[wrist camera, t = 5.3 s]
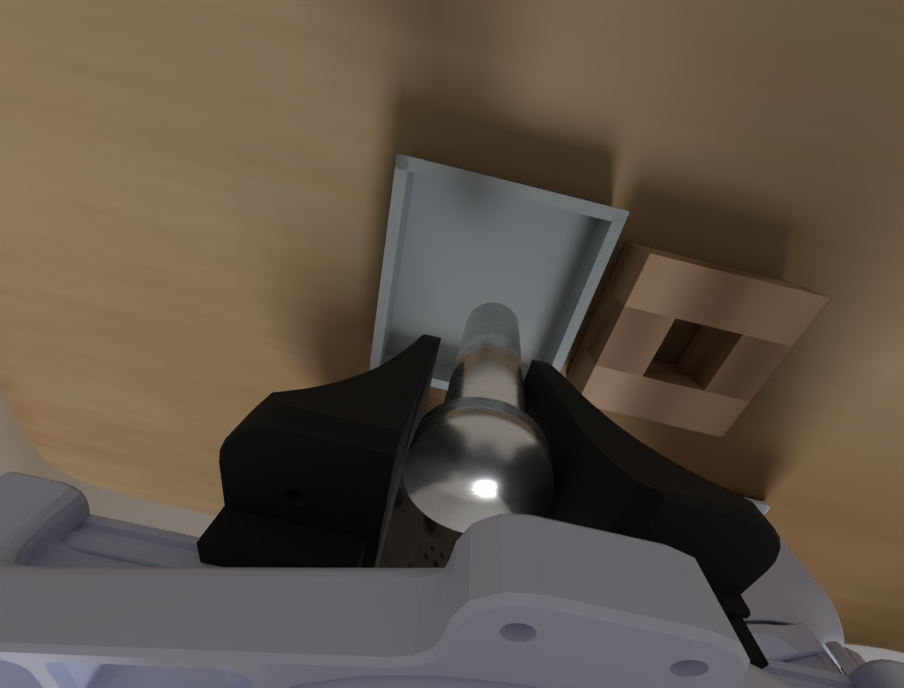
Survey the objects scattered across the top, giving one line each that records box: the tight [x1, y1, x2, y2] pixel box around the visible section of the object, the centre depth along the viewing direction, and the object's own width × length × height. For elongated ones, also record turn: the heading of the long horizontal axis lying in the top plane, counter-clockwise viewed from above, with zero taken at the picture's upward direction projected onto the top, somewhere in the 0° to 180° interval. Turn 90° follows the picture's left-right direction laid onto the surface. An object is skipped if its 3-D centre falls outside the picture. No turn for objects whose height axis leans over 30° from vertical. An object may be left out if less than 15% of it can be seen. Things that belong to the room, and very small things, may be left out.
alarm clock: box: [378, 472, 463, 568], centre depth 20 cm, size 11×5×16 cm, turn 44°
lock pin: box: [403, 302, 555, 533], centre depth 12 cm, size 3×3×9 cm
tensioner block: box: [566, 242, 830, 437], centre depth 20 cm, size 9×9×3 cm
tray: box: [369, 153, 630, 390], centre depth 20 cm, size 11×12×2 cm
